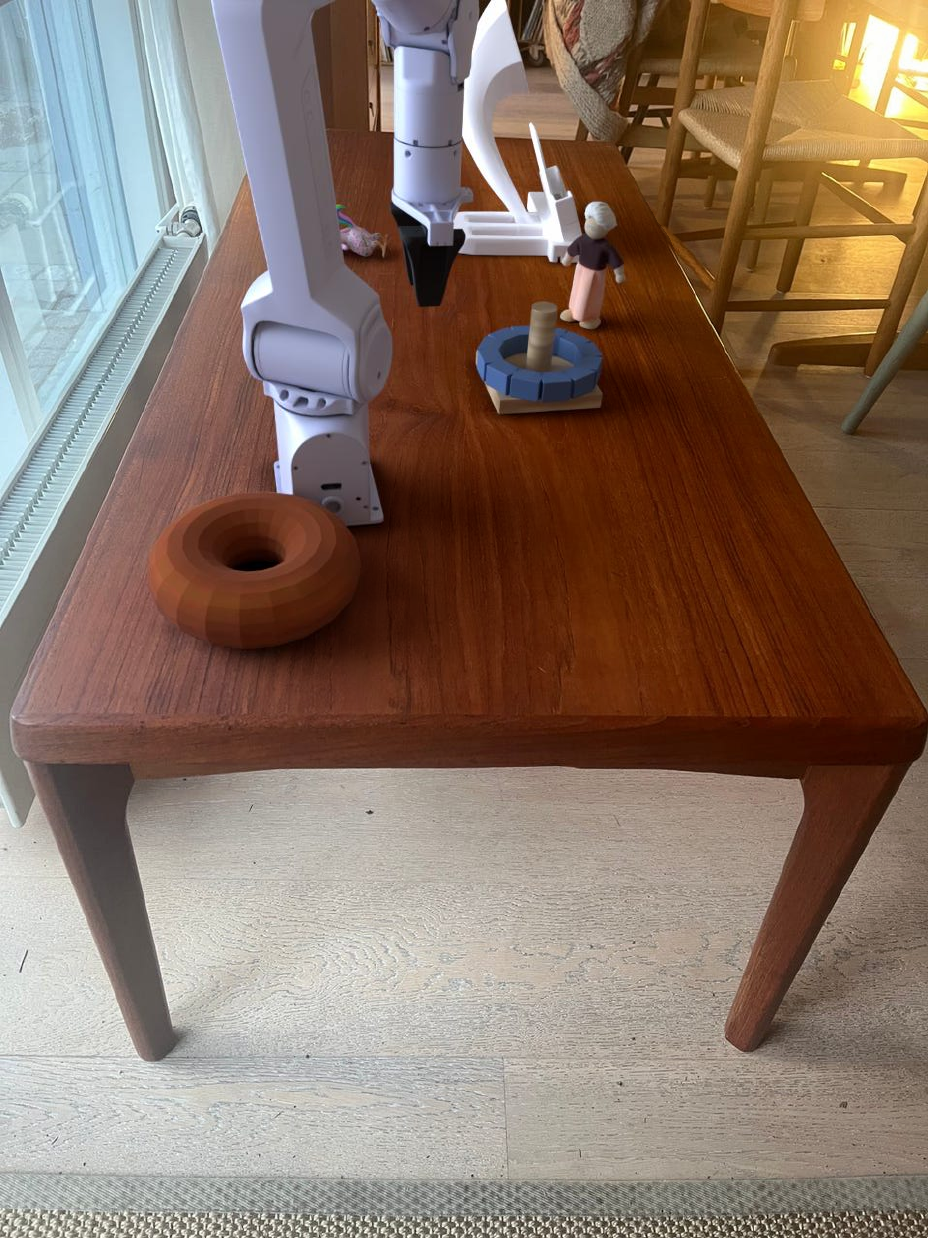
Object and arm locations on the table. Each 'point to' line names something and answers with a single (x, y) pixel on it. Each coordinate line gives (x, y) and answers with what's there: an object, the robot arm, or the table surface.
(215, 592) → the donut
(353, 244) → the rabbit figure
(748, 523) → the table surface
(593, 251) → the grandmother figurine
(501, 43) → the jewelry stand
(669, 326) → the table surface
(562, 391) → the ring
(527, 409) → the stand
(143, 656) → the table surface
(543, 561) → the table surface
